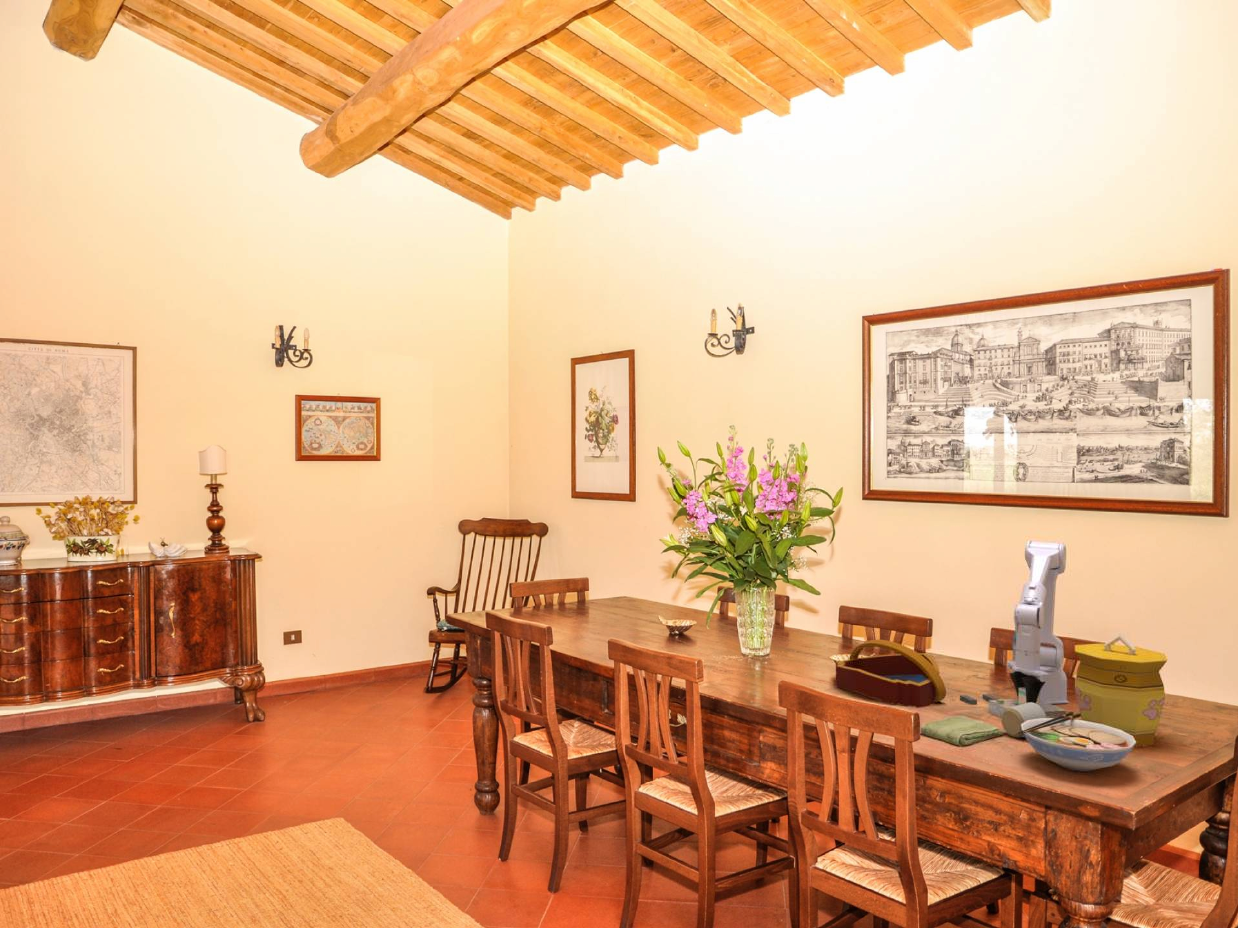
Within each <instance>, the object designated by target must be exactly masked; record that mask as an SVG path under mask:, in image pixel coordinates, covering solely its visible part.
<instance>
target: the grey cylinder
mask: <svg viewBox="0 0 1238 928" xmlns="http://www.w3.org/2000/svg"><path fill="white" fill-rule="evenodd" d="M1039 718H1047V717H1046V714H1045V712H1044V711H1043V709H1042V708H1041V707H1040V706H1039V705H1037V704H1036V703H1032V702H1029V703H1025V704H1021V705H1017V706H1013V707H1010V708H1008V709H1006V710H1005V711H1004V712H1003V714H1002V717H1001V718H1000V719H1001V726H1002V728H1003V729H1004V731H1005V732H1006V734H1007V735H1009V736H1011V737H1013V738H1018V739H1019V738H1026V737H1025V735H1024V733H1023V732H1022V733H1023V734H1020V733H1019V732H1021V731H1022V727H1021V724H1022V723H1024V722H1026V721H1027V720H1032V719H1039ZM1017 733H1019V734H1017Z"/></svg>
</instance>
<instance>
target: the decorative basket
mask: <svg viewBox="0 0 1238 928" xmlns="http://www.w3.org/2000/svg"><path fill="white" fill-rule="evenodd" d="M865 648H881V649H885V650H888V651H891V652H894V654H883V655H873V656H872V655H871V656H864V657H863V656H862V657H859V655H860V654H861V652H862V651H863V649H865ZM895 653H896V654H895ZM835 681H836V687H837V688H840V689H843V690H846V691H850V692H854V693H855V692H856V693H859V694H861V695H864V696H867V697H869V698H871V699H872V698H873V699H875V700H878V701H881V702H885V703H888V704H890V703H891V705H894V704H895V706H896V705H901V706H905V707H910V706H911V707H914V706H916V707H915V708H919V707H921V708H923V707H924V708H925V707H927V706H929V705H931V704H933V703H937V702H940V701H943V700H944V699H945V698H946V696H947V689H946V686H945V683H944V681H943V679H942V677H941V675H940V669H939V664H938V663H937V661H935V659H934V657H932V656H931V655H929V654H928V653H924V652H923V653H921V652H917V651H915V650H914V649H912V648H910V647H908V646H905V645H903V644H900V643H898V642H894V641H892V640H887V639H870V640H867V641H864V642H862V643H861V644H859V645H857V646H856V647H855V648H854V649H853V650H852V651H851V653H850V654H849V658H848V659H845V660H844V659H843V660H839V661H835ZM892 703H893V704H892Z"/></svg>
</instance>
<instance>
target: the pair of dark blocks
mask: <svg viewBox="0 0 1238 928" xmlns="http://www.w3.org/2000/svg"><path fill="white" fill-rule="evenodd" d="M982 699H983V700H984V699H985V701H987V702H989V700H996V699H1000V698H999V697H997V696H995V695H992V694H990V693H985V694H982ZM959 701H962V702H964V703H966V704H968V705H978V699H976V698H974V697H973V696H972V697H971V696H969V695H967V694H963V695H960V696H959Z"/></svg>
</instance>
